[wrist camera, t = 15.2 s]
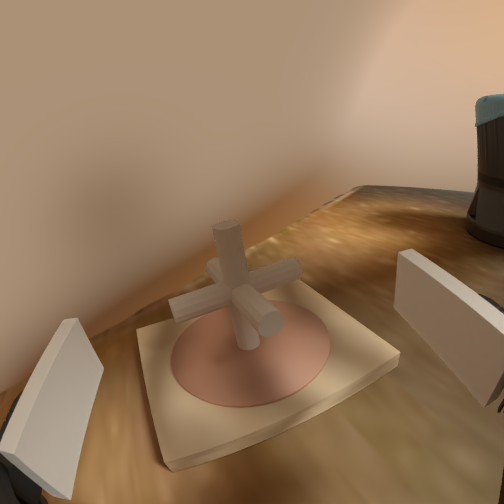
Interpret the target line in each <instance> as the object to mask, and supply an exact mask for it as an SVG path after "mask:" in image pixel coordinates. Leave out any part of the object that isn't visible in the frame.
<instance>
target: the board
mask: <svg viewBox="0 0 504 504" xmlns="http://www.w3.org/2000/svg"><path fill="white" fill-rule="evenodd" d="M261 295H263V296H264V297H265V298H266V299H267V300H268V301H269V302H270V303H272V304H273V305H274V306H275V307H276V308H277V309H278V310H279V311H281V312H282V313H283V315H284V318H285V321H284V326H283V327H282V329H281V330H280V332H278V333H277V334H276V335H274V336H271V337H264V336H262V335H260V334H259V339H260V344H259V346H258V347H257V348H255V349H252V350H242V349H240V348H239V347H238V344H237V340H236V335H235V331H234V327H233V322H232V318H231V314H230V309H229V306H227V307H224V308H222V309H219V310H216V311H213V312H211V313H208V314H205V315H202V316H199V317H197V318H194V319H191V320H188V321H185V322H182V323H179V324H176V322H175V320H174V318H171V319H168V320H164V321H161V322H158V323H155V324H152V325H148V326H145V327H142V328H139V329H136V331H137V338H138V344H139V351H140V357H141V363H142V369H143V374H144V380H145V385H146V390H147V395H148V400H149V404H150V409H151V413H152V418H153V422H154V426H155V430H156V434H157V438H158V442H159V446H160V449H161V453H162V456H163V460H164V463H165V464H166V465H167V466H168V468H169V469H170V470H171V471H172V472H176V471H180V470H183V469H187V468H190V467H193V466H197V465H200V464H203V463H206V462H209V461H212V460H215V459H218V458H221V457H223V456H226V455H229V454H232V453H234V452H237V451H239V450H242V449H245V448H247V447H250V446H252V445H254V444H257V443H259V442H262V441H264V440H266V439H269V438H271V437H273V436H275V435H277V434H280V433H282V432H284V431H286V430H288V429H290V428H292V427H295V426H297V425H299V424H301V423H303V422H305V421H307V420H309V419H310V418H312V417H314V416H316V415H318V414H320V413H322V412H324V411H326V410H327V409H329V408H331V407H333V406H335V405H336V404H338V403H340V402H342V401H343V400H345V399H347V398H348V397H350V396H352V395H354V394H355V393H357V392H358V391H360V390H362V389H363V388H365V387H367V386H368V385H370V384H371V383H373V382H374V381H376V380H377V379H379V378H380V377H382V376H383V375H385V374H386V373H388V372H389V371H391V370H392V369H394V368H395V367H397V366H398V361H399V356H400V352H399V351H398V350H397V349H395V348H394V347H393V346H391V345H390V344H388V343H387V342H386V341H384V340H383V339H381V338H380V337H379V336H377V335H376V334H375V333H373V332H372V331H370V330H369V329H368V328H366V327H365V326H364V325H362V324H361V323H359V322H358V321H357V320H355V319H354V318H352V317H351V316H350V315H348V314H347V313H345V312H344V311H343V310H341V309H340V308H339V307H337V306H336V305H334V304H333V303H332V302H330V301H329V300H327V299H326V298H325V297H323V296H322V295H320V294H319V293H318V292H316V291H315V290H314V289H312V288H311V287H309V286H308V285H307V284H305V283H304V282H302V281H301V280H300V279H298V280H295V281H293V282H290V283H288V284H285V285H283V286H280V287H277V288H275V289H272V290H270V291H267V292H265V293H262V294H261ZM258 333H259V332H258Z"/></svg>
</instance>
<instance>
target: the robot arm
mask: <svg viewBox="0 0 504 504" xmlns="http://www.w3.org/2000/svg"><path fill="white" fill-rule="evenodd" d="M475 111H476V124H475V126H476V127H477V142H478V143H477V144H478V182H477V187H476V190H475V193H474V196H473V198H472V201H471V204H470V207H469V210H468V212H467V218H466V229H467V230H468V232H469V233H470V234H472V235H473V236H474V237H476V238H478V239H480V240H482V241H484V242H486V243H489V244H492V245H495V246H498V247H502V248H504V94H496V95H489V96H484V97H481V98H479V99H478V100H477V102H476V105H475ZM393 308H394V309H395V310H396V311H397V312H398V313H399V314H400V315H401V316H402V317H403V318H404V319H405V321H406V322H407V323H408V324H409V325H410V326H411V327H412V328H413V329H414V330H415V331H416V332H417V333H418V334H419V335H420V336H421V337H422V339H423V340H424V341H425V342H426V343H427V344H428V345H429V346H430V347H431V348H432V349H433V350H434V352H435V353H436V354H437V355H438V356H439V357H440V358H441V359H442V360H443V362H444V363H445V364H446V365H447V366H448V367H449V368H450V369H451V371H452V372H453V373H454V374H455V375H456V376H457V377H458V379H459V380H460V381H461V382H462V383H463V384H464V386H465V387H466V388H467V389H468V390H469V391H470V393H471V394H472V395H473V396H474V397H475V398H476V400H477V401H478V402H479V403H480V405H481V406H482V407H483V408H485V407H486V406H488V405H489V404H490V403H492V402H493V401H494V400H496V399H497V398H498V397H499V395H500V393H501V391H502V390H503V388H504V308H502V307H500V305H499V304H497V303H496V302H495V301H493V300H492V299H491V298H488V297H486V296H483V295H481V294H477V293H475V292H474V291H473V290H471V289H470V288H469V287H467V286H466V285H465V284H463V283H462V282H460V281H459V280H458V279H456V278H455V277H453V276H452V275H450V274H449V273H448V272H446V271H445V270H443V269H442V268H440V267H439V266H437V265H436V264H435V263H433V262H432V261H430V260H429V259H427V258H426V257H424V256H423V255H421V254H420V253H418V252H416V251H415V250H413V249H408V250H404V251H400V252H398V257H397V273H396V286H395V296H394V306H393ZM103 371H104V367H103V365H102V363H101V362H100V360H99V358H98V356H97V354H96V353H95V351H94V349H93V347H92V345H91V343H90V341H89V339H88V338H87V336H86V333H85V331H84V330H83V327H82V326H81V323H80V321H79V319H78V318H71V319H64V320H63V321H62V323H61V324H60V326H59V328H58V329H57V331H56V333H55V334H54V336H53V337H52V339H51V341H50V343H49V344H48V346H47V348H46V350H45V351H44V353H43V355H42V357H41V359H40V360H39V362H38V364H37V366H36V368H35V369H34V371H33V373H32V375H31V377H30V379H29V381H28V383H27V385H26V387H25V389H24V390H23V391H22V392H21V393H20V394H19V395H18V396H17V398H16V399H15V400H14V402H13V404H12V406H11V408H10V410H9V411H10V413H8V414H7V417H6V421H4V423H3V426H2V428H1V430H0V504H48V502H47V500H46V499H45V498H44V496H42V495H41V492H42V489H44V490H45V491H46V492H48V493H49V494H51V495H52V496H53V497H58V498H62V499H67V500H71V497H72V491H73V486H74V481H75V476H76V471H77V466H78V462H79V457H80V453H81V449H82V444H83V440H84V436H85V432H86V429H87V425H88V421H89V417H90V414H91V410H92V407H93V403H94V400H95V396H96V393H97V390H98V386H99V383H100V380H101V377H102V374H103ZM503 407H504V399H503V401H502V402H501V404H500V406H499V407H498V412H499V413H500V412H501V410H502V408H503ZM503 413H504V412H503ZM498 504H504V469H503V477H502V485H501V491H500V497H499V503H498Z"/></svg>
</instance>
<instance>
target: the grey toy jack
mask: <svg viewBox="0 0 504 504" xmlns="http://www.w3.org/2000/svg"><path fill="white" fill-rule="evenodd" d="M212 229H213V234H214V239H215V244H216V248H217V253H218V258H213V259H211V260H209V261H208V263H207V265H206V272H207V273H208V275H209V276H210V277H211V279H212V280H213V281H214V282H215V284H212V285H210V286H207V287H204V288H201V289H198V290H195V291H192V292H189V293H186V294H183V295H180V296H177V297H174V298H171V299H168V302H169V306H170V309H171V312H172V314H173V317H174V320H175V322H176V324H179V323H182V322H185V321H188V320H191V319H194V318H197V317H199V316H202V315H205V314H208V313H211V312H213V311H216V310H219V309H222V308H224V307H227V306H229V309H230V314H231V318H232V322H233V327H234V331H235V335H236V340H237V344H238V347H239V348H240V349H242V350H252V349H255V348H257V347H258V346H259V344H260V339H259V334H260V335H262V336H264V337H271V336H274V335H276V334H277V333H278V332H280V330H281V329H282V327H283V326H284V321H285V318H284V315H283V313H282V312H281V311H279V310H278V309H277V308H276V307H275V306H274V305H273V304H272V303H270V302H269V301H268V300H267V299H266V298H265V297H264V296H263V295H261V294H262V293H265V292H267V291H270V290H272V289H275V288H277V287H280V286H283V285H285V284H288V283H290V282H293V281H295V280H298V279H300V278H301V277H302V267H301V265H300V263H299V261H298V260H297V259H296V258H295V257H290V258H287V259H284V260H282V261H279V262H276V263H273V264H270V265H267V266H265V267H262V268H259V269H256V270H253V271H250V272H248V270H247V264H246V258H245V252H244V247H243V241H242V235H241V229H240V223H239V221H236V220H229V221H223V222H219V223H217V224H215V225H213V227H212ZM258 332H259V333H258Z"/></svg>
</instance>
